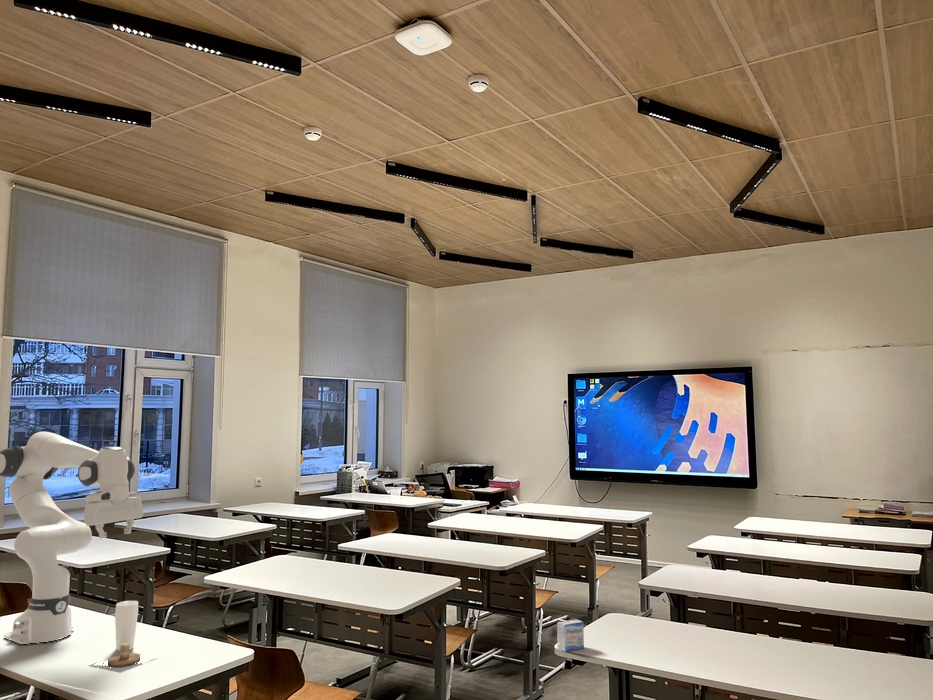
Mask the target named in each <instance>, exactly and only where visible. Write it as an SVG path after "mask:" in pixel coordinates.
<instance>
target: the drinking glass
mask: <svg viewBox="0 0 933 700" xmlns="http://www.w3.org/2000/svg"><path fill="white" fill-rule="evenodd" d="M114 615H115V616H114V618H115V619H114V621H115V623H114V624H115V651H116V650H120V645H121V644H124V643H130V648H133V649H134V646H135V637H136V631H137V622H138V617H139V616H138V615H139V601H138V600H124V601H120V602H117V603H116V604H115V613H114Z"/></svg>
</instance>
